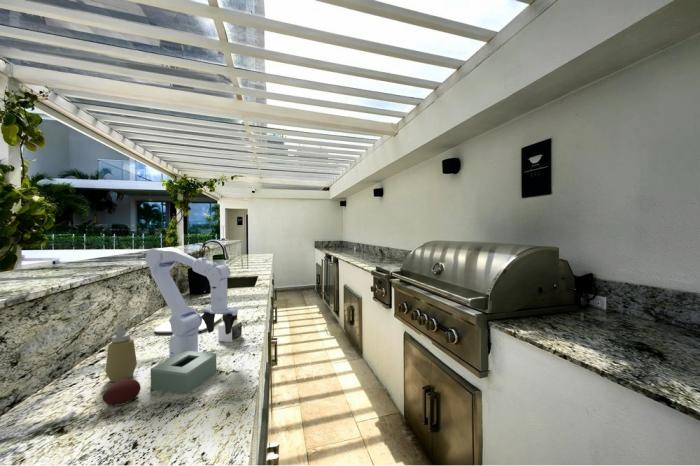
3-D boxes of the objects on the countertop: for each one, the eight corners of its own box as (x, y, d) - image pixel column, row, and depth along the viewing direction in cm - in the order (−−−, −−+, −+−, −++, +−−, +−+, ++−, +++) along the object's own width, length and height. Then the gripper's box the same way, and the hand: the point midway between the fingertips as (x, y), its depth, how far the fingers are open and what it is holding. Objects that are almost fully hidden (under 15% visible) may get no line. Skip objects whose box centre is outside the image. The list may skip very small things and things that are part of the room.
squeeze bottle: (142, 373, 93) (142, 321, 93) (116, 386, 86) (115, 329, 85) (126, 369, 96) (126, 318, 96) (99, 382, 88) (98, 326, 88)
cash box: (150, 389, 84) (150, 368, 84) (184, 368, 97) (184, 350, 97) (186, 394, 82) (186, 373, 81) (216, 372, 94) (216, 353, 94)
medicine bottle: (232, 342, 119) (232, 315, 119) (217, 341, 120) (217, 314, 120) (242, 336, 126) (241, 310, 126) (228, 335, 127) (228, 309, 127)
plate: (200, 335, 127) (200, 330, 127) (148, 335, 128) (148, 330, 128) (225, 318, 152) (225, 314, 152) (181, 318, 153) (181, 314, 153)
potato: (109, 397, 80) (109, 377, 80) (144, 391, 83) (143, 371, 83) (98, 413, 73) (98, 391, 73) (136, 405, 77) (136, 384, 76)
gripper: (194, 298, 101) (195, 335, 102) (228, 300, 98) (229, 338, 98) (208, 294, 108) (209, 328, 109) (240, 296, 105) (241, 331, 105)
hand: (219, 332), depth 104 cm, fingers open, 7 cm apart
